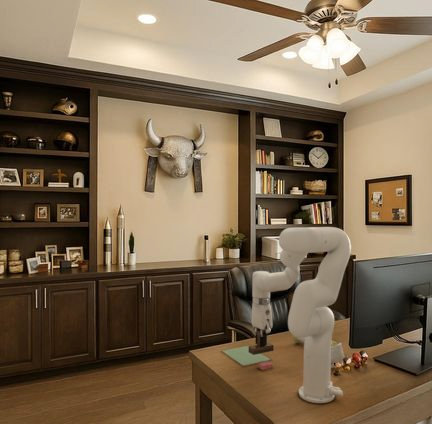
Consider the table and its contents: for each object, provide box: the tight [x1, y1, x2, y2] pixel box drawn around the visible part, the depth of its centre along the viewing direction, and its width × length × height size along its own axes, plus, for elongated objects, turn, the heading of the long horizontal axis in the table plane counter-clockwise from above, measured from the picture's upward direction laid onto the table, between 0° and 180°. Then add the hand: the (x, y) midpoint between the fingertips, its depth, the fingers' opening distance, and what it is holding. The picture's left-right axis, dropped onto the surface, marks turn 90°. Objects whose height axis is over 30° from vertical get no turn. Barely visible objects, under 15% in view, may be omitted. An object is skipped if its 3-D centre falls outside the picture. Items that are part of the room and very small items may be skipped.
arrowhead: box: [331, 342, 346, 369], centre depth 163 cm, size 8×2×10 cm, turn 119°
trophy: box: [291, 335, 340, 364], centre depth 180 cm, size 8×8×30 cm
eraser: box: [257, 360, 273, 371], centre depth 161 cm, size 3×5×2 cm, turn 122°
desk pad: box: [222, 345, 272, 367], centre depth 174 cm, size 20×14×1 cm
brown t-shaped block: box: [248, 330, 275, 355], centre depth 164 cm, size 4×10×8 cm, turn 122°
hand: (261, 344), depth 164 cm, fingers closed on brown t-shaped block, 2 cm apart
